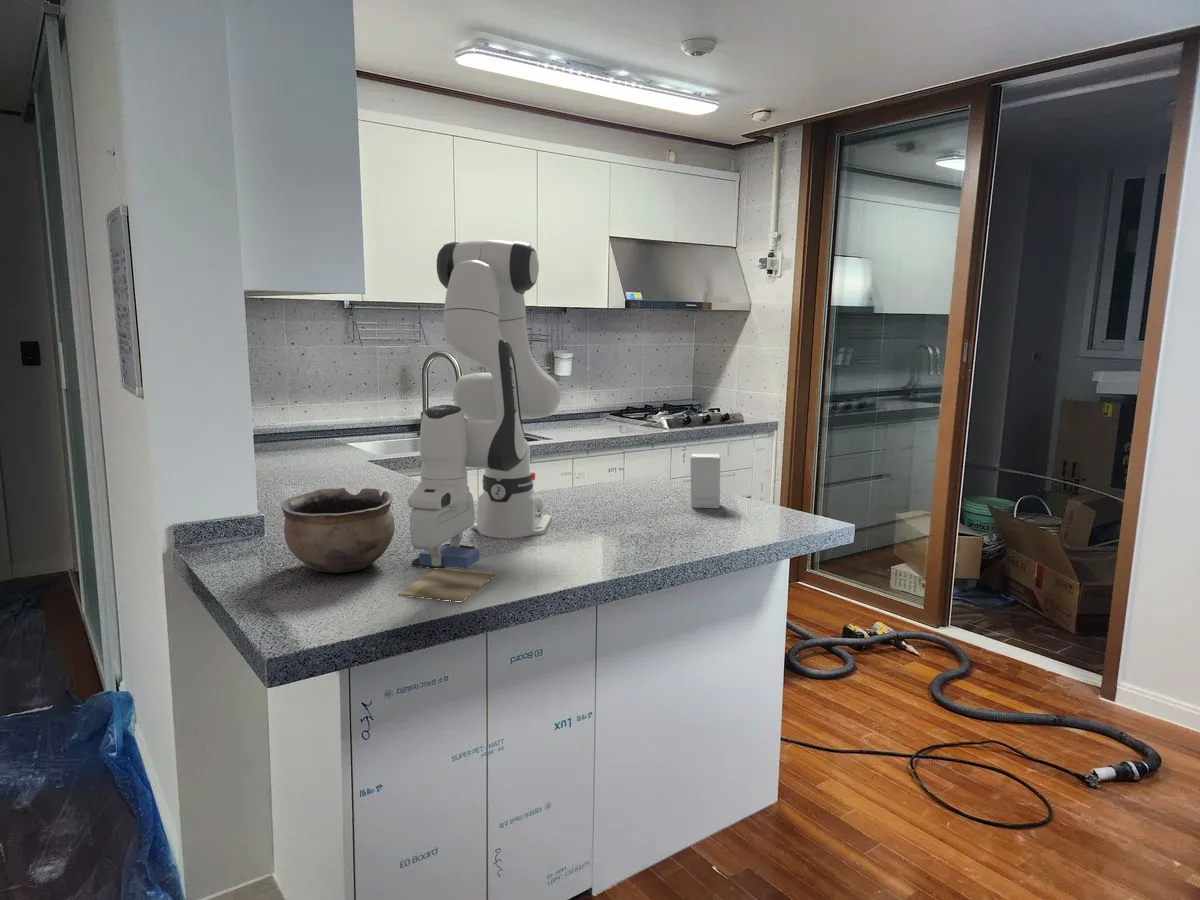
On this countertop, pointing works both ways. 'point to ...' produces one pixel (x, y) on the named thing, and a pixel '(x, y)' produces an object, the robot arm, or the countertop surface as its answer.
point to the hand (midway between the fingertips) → (445, 560)
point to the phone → (417, 563)
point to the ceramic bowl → (338, 528)
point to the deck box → (453, 557)
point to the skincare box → (705, 480)
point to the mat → (447, 584)
